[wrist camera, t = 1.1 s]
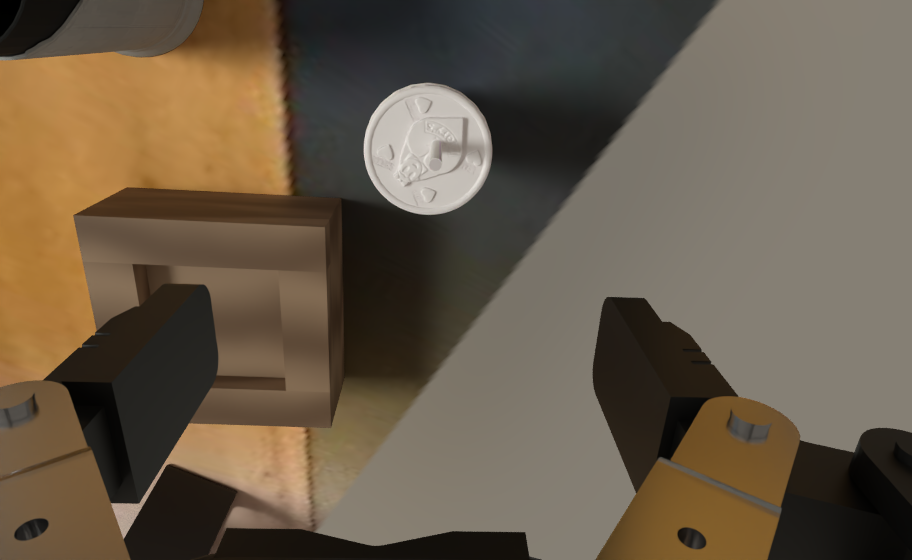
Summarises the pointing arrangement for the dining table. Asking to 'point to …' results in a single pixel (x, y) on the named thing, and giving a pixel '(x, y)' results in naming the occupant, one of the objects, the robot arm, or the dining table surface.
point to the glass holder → (94, 27)
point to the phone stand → (178, 518)
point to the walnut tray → (234, 290)
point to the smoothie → (428, 148)
